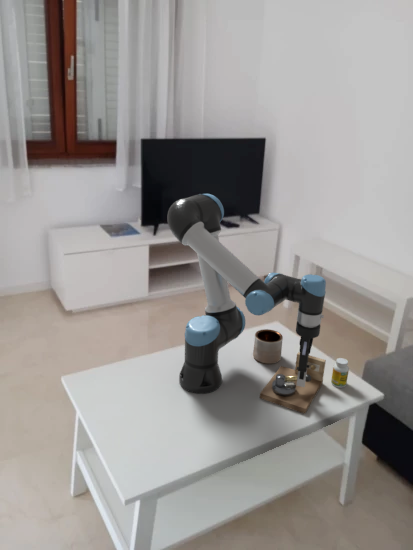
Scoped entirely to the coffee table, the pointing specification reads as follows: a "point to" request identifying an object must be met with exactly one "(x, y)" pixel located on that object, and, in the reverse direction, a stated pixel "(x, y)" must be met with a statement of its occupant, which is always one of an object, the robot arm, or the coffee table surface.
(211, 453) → the coffee table surface
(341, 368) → the supplement bottle
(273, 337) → the planter
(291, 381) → the ball knob lever
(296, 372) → the stand
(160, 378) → the coffee table surface
